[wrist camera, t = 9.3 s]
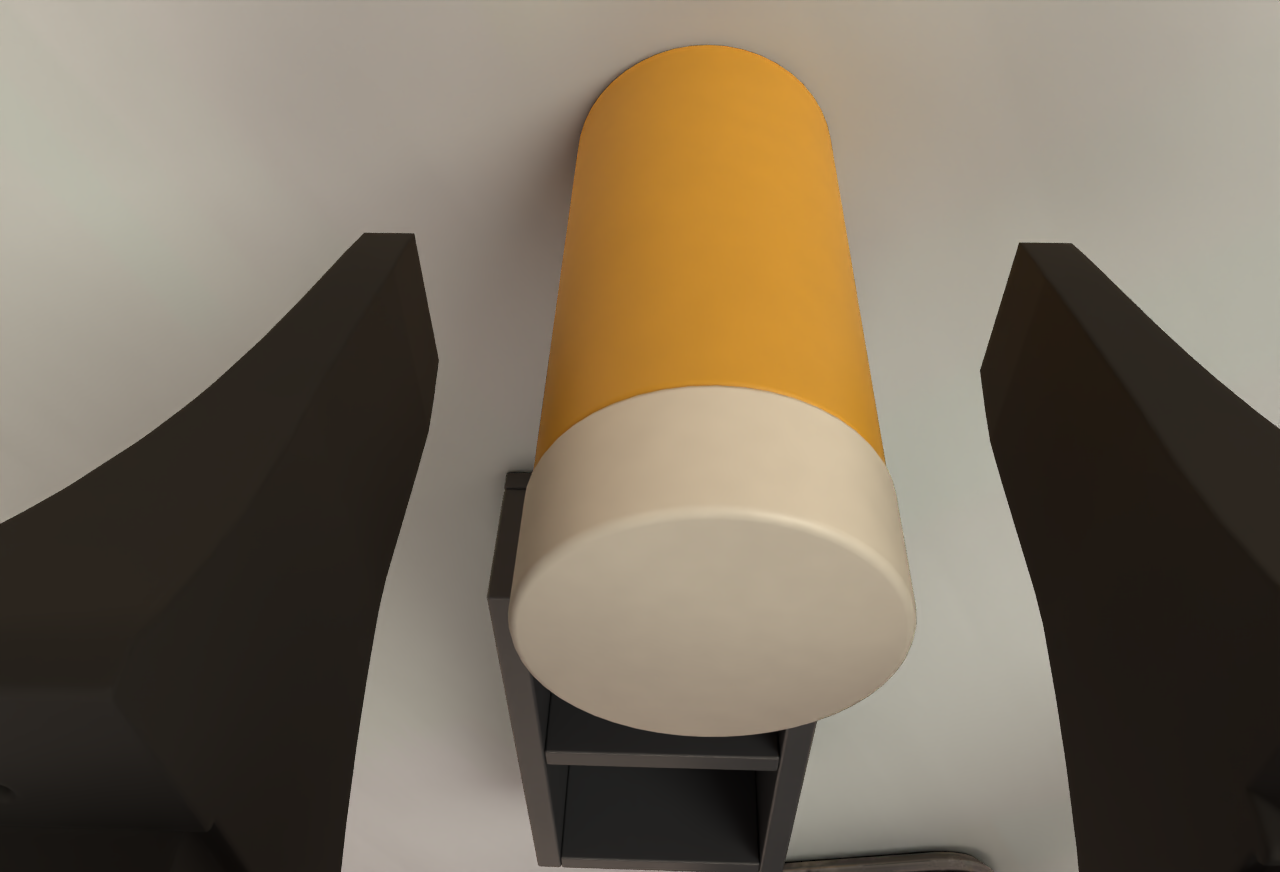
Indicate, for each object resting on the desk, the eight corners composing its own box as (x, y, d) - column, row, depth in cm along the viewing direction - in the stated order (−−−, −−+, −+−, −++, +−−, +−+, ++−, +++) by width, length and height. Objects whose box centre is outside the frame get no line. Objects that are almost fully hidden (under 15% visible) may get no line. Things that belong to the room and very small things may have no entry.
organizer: (829, 478, 20) (844, 606, 18) (776, 765, 28) (782, 875, 26) (506, 471, 20) (486, 598, 18) (548, 759, 29) (537, 867, 27)
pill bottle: (851, 39, 14) (958, 518, 8) (818, 269, 16) (882, 745, 11) (567, 37, 14) (485, 505, 8) (580, 265, 17) (524, 735, 11)
